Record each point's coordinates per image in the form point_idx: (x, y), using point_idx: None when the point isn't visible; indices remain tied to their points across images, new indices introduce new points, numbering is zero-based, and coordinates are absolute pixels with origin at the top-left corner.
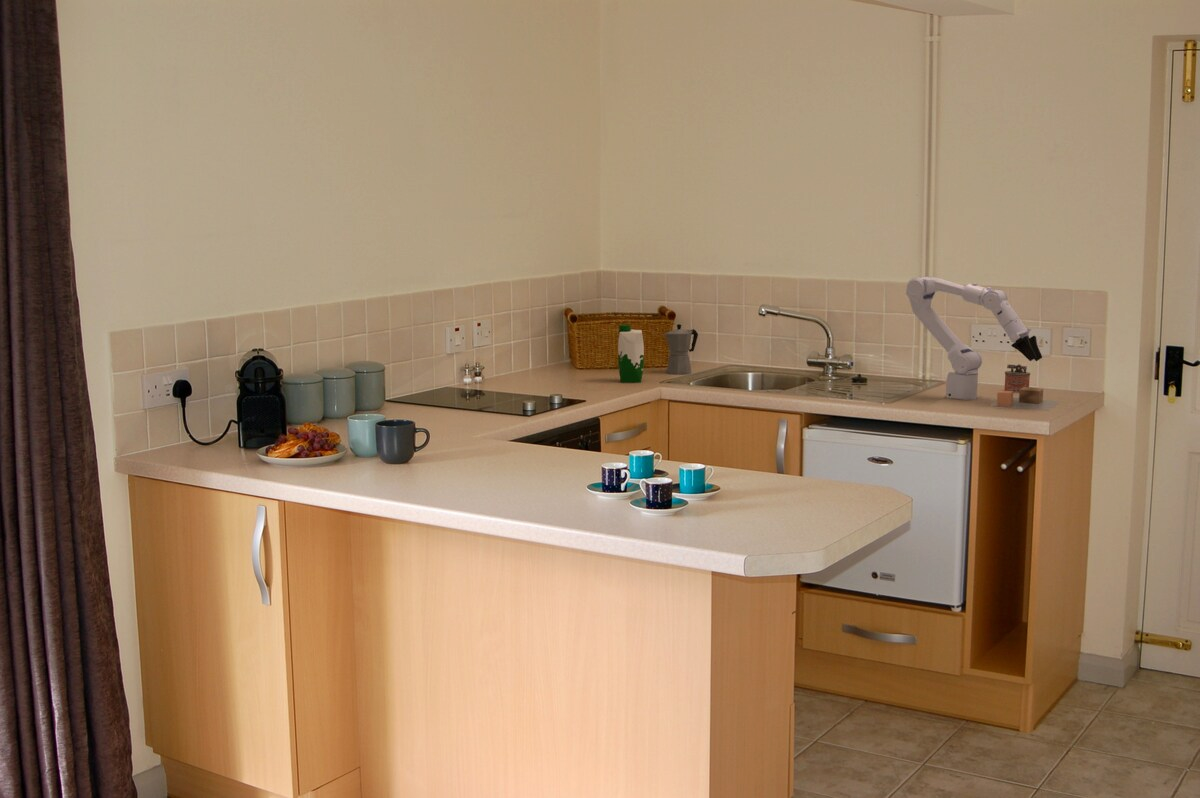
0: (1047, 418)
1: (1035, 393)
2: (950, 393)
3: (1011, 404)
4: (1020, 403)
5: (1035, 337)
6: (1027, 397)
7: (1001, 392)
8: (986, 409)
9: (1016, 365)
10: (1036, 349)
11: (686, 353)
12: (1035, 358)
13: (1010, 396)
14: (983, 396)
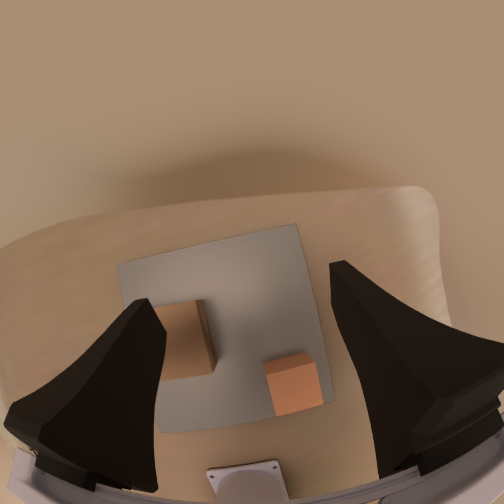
0: (358, 202)
1: (200, 313)
2: None
3: (283, 358)
4: (236, 348)
5: (25, 412)
6: (209, 338)
7: (317, 393)
8: (344, 394)
9: (27, 445)
10: (119, 356)
11: None
12: (160, 342)
13: (311, 359)
14: (156, 473)
